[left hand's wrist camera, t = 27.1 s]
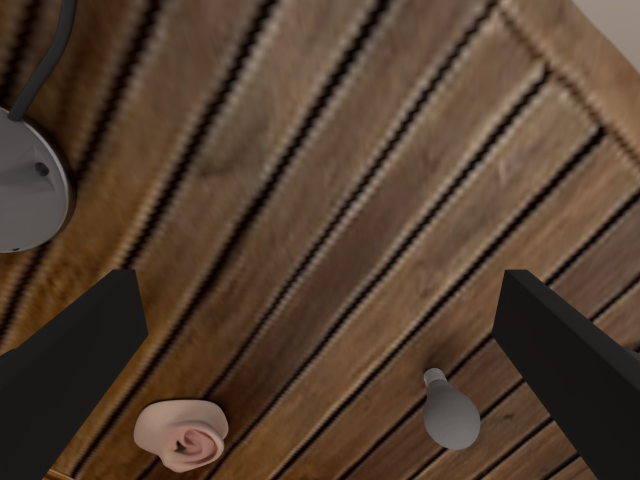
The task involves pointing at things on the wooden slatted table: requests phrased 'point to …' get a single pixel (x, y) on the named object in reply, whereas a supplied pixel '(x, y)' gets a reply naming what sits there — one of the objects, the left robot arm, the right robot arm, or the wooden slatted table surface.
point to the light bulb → (449, 413)
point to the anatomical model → (182, 432)
